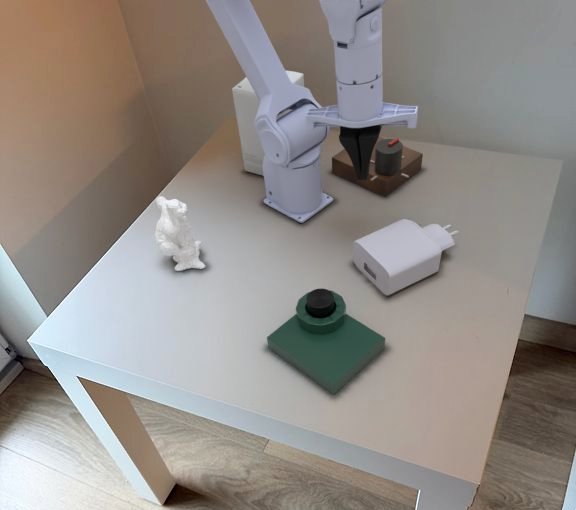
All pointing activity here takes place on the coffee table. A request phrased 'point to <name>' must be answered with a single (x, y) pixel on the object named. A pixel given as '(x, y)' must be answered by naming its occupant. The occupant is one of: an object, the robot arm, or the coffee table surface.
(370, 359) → the base
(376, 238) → the charger
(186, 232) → the koala figurine
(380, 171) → the lock knob
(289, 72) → the white product box
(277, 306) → the coffee table surface
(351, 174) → the panel
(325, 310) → the black push button
